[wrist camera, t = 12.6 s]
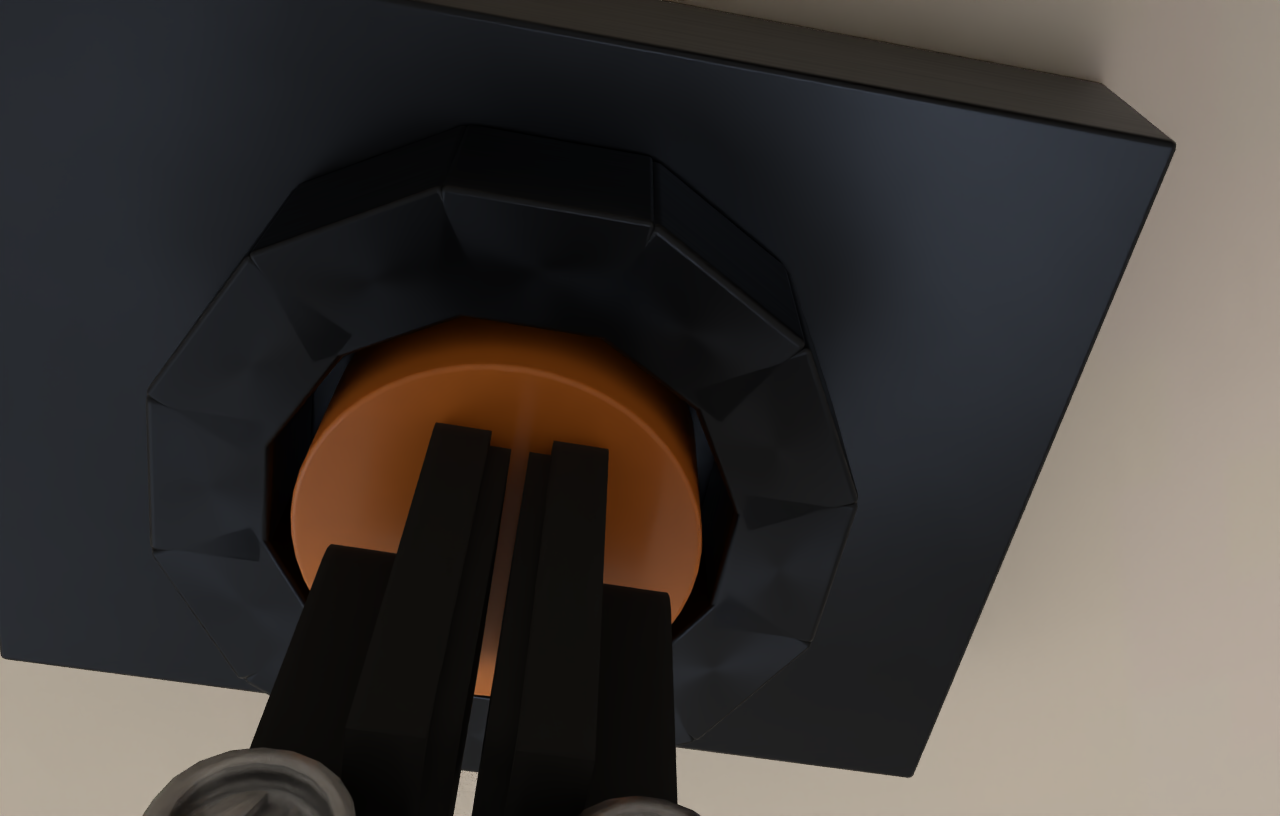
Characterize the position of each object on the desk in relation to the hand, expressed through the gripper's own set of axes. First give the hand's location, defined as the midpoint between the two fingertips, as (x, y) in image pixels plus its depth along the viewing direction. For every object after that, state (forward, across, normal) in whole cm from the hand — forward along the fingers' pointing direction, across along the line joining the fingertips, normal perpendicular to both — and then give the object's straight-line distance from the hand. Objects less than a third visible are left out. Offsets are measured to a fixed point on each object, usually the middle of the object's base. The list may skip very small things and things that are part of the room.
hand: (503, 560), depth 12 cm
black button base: (+4, 0, 0) cm, 4 cm away
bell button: (+2, 0, 0) cm, 2 cm away
